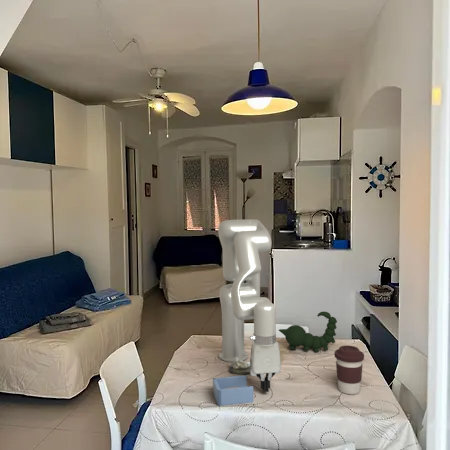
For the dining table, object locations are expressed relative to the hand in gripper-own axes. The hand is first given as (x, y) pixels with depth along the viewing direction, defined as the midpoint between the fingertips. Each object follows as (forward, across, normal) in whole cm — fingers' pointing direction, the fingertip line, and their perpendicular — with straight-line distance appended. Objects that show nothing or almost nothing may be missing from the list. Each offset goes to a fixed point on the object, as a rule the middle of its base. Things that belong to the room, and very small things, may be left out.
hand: (265, 390), depth 144 cm
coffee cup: (+1, +29, -4) cm, 30 cm away
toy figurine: (+1, +30, +37) cm, 47 cm away
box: (+1, -12, 0) cm, 12 cm away
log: (+2, -3, +21) cm, 22 cm away
